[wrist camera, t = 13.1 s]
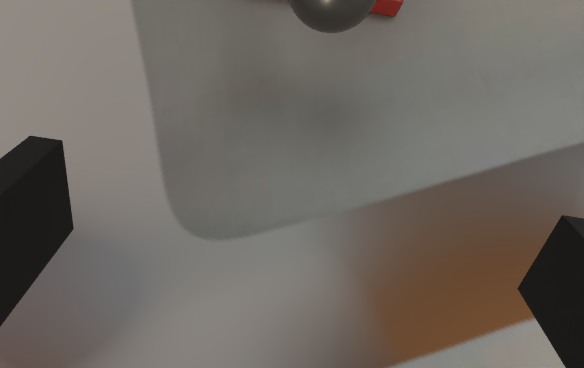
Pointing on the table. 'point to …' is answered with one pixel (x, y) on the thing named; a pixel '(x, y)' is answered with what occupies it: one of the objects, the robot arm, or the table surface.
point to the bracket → (387, 7)
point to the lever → (331, 13)
